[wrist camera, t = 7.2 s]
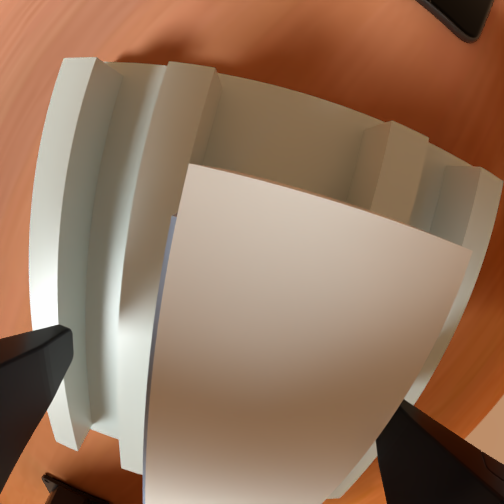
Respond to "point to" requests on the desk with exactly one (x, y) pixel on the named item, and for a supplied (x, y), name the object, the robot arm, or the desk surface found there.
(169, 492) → the white rectangular block
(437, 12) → the smartphone
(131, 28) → the desk surface
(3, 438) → the robot arm
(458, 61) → the desk surface
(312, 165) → the rack
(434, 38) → the desk surface
